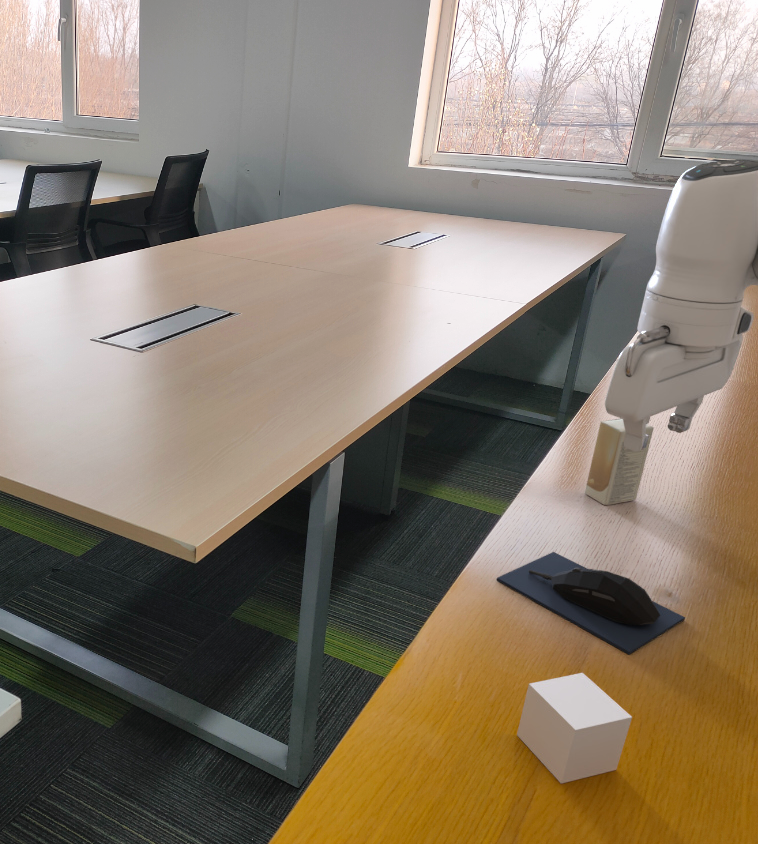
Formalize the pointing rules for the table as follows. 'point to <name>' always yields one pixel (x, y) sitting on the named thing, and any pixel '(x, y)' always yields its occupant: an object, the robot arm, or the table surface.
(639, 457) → the cosmetic box
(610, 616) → the gaming mouse
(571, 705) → the white cube
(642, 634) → the mouse pad
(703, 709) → the table surface
